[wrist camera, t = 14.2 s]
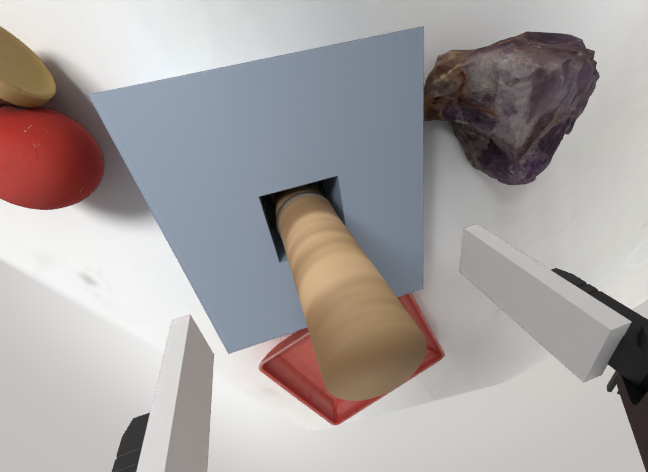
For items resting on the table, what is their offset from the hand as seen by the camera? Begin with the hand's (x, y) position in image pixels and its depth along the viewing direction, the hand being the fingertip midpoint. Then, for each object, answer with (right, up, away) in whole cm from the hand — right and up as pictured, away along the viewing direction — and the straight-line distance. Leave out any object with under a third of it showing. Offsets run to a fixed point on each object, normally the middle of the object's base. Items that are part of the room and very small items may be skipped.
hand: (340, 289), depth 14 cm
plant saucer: (+3, -11, +24) cm, 27 cm away
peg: (-4, +6, +12) cm, 14 cm away
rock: (+12, +15, +12) cm, 23 cm away
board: (-4, +6, +12) cm, 14 cm away
